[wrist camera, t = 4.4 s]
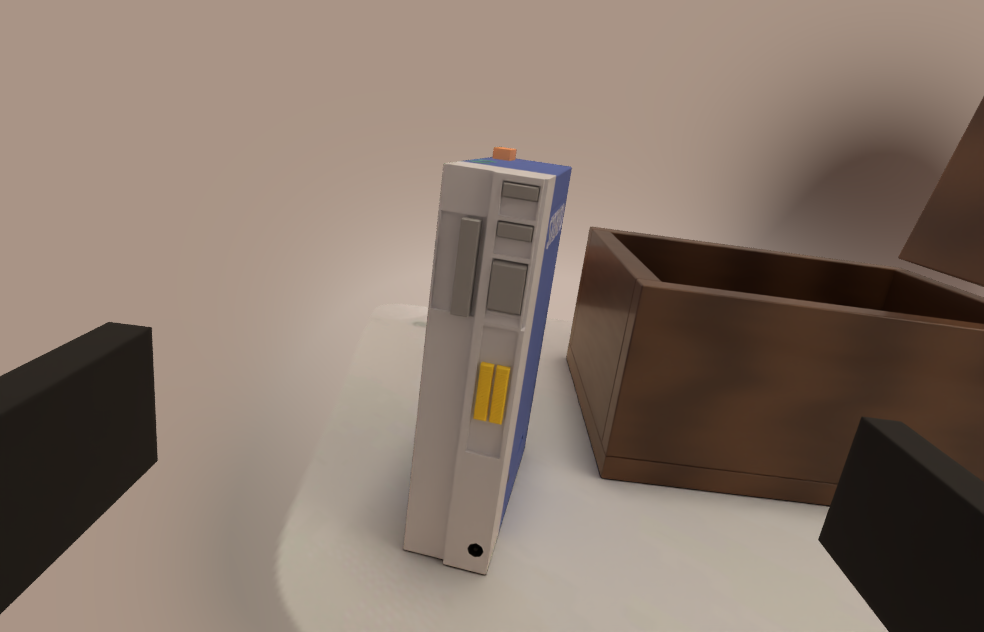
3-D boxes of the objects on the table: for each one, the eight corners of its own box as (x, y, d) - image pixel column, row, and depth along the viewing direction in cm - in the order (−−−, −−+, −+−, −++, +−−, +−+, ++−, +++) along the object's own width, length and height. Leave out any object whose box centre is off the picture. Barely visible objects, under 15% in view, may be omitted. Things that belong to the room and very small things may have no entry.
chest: (600, 478, 24) (642, 284, 21) (566, 357, 36) (589, 226, 34) (1038, 531, 24) (1127, 348, 22) (856, 394, 37) (900, 267, 34)
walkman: (461, 435, 26) (499, 145, 22) (524, 449, 25) (574, 156, 22) (397, 555, 18) (438, 147, 15) (485, 577, 18) (550, 164, 14)
